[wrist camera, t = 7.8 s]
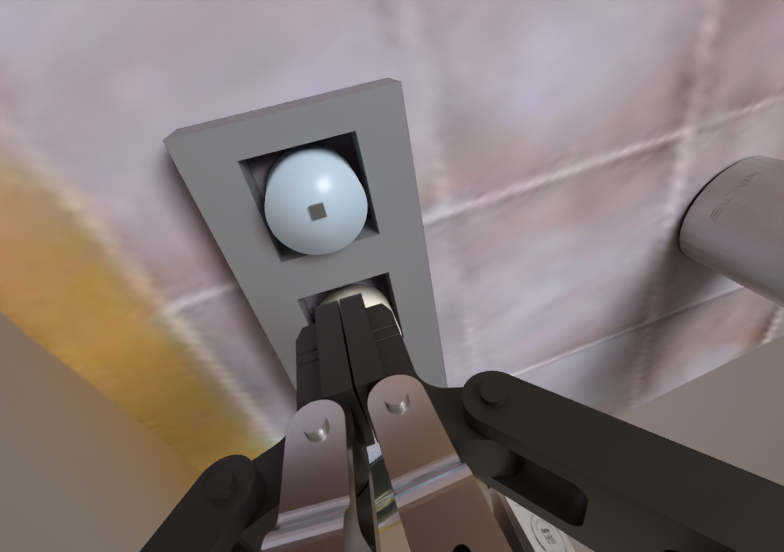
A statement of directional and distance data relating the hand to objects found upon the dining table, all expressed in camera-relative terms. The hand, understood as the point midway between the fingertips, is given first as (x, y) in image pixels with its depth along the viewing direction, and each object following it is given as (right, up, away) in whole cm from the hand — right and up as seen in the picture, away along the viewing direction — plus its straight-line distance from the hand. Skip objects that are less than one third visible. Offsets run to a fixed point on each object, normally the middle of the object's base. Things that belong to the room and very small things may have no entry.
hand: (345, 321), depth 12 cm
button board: (-2, 0, +14) cm, 14 cm away
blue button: (-3, +6, +9) cm, 11 cm away
